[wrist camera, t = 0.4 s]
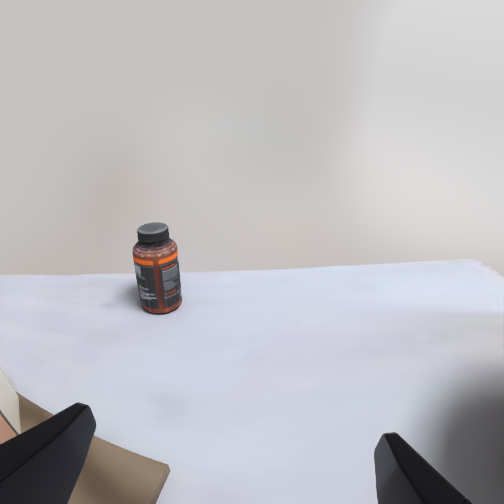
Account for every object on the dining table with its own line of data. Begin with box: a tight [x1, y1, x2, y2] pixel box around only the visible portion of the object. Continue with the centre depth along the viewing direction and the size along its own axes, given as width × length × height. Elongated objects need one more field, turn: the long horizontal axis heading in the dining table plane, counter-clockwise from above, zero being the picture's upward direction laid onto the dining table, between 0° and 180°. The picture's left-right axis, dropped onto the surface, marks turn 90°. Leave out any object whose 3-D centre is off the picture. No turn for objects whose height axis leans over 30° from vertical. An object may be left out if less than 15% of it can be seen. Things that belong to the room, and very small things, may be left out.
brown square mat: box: [16, 392, 170, 504], centre depth 13 cm, size 20×20×1 cm
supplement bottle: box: [133, 223, 182, 313], centre depth 40 cm, size 6×6×11 cm
